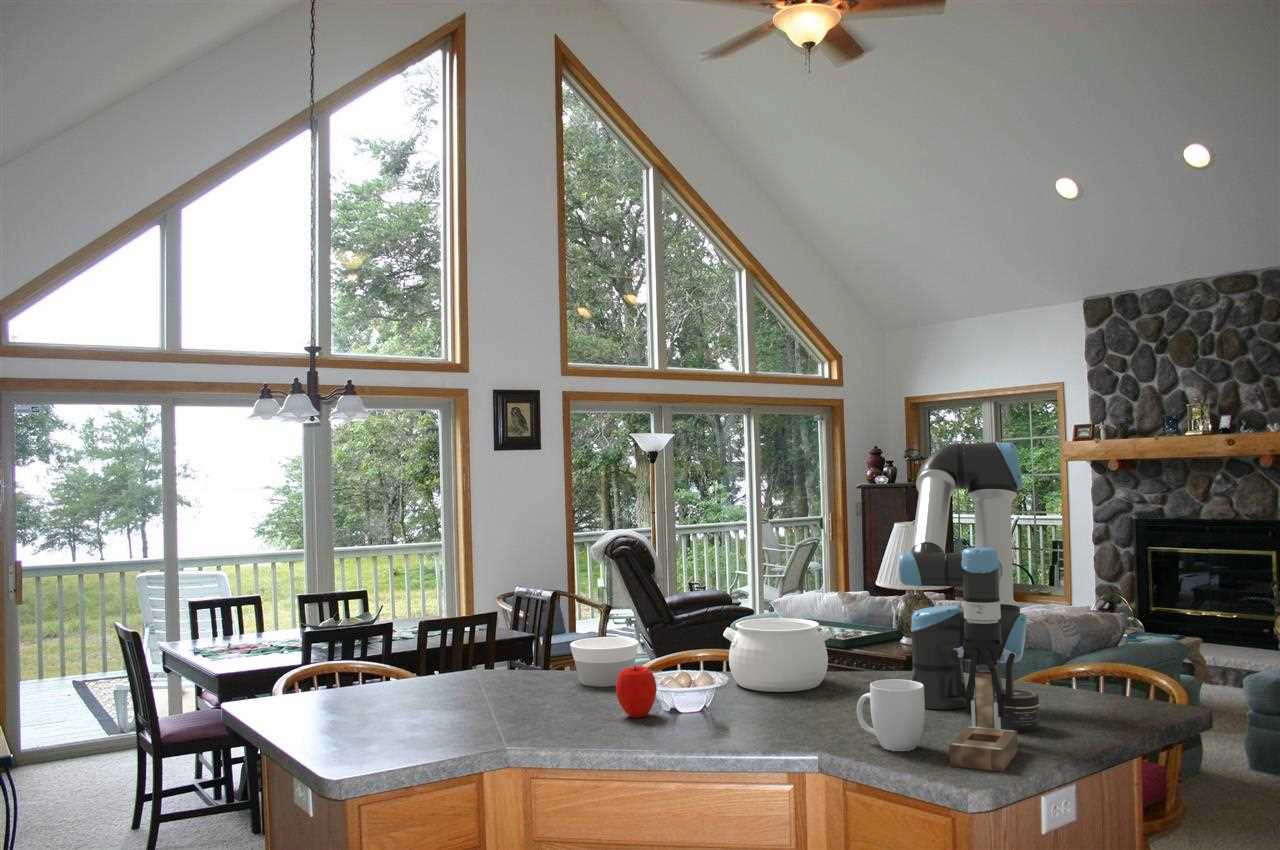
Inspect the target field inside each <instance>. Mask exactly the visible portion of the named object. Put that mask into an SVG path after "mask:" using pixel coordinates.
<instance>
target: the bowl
mask: <svg viewBox="0 0 1280 850" xmlns="http://www.w3.org/2000/svg"><path fill="white" fill-rule="evenodd" d="M639 644H640V642H639V640H637V639H634V638H630V637H619V636H599V637H597V636H596V637H588V638H581V639H578V640H574V641H572V642H571V643H570V644H569V646H570V650H571V654H572V657H573V661H574V664H575V668H576V669H575V670H576V673H577V675H578V679H579V682H580V684H582V685H583V686H587V687H588V686H589V687H599V688H600V687H616V682H617V678H618V676H619V673H620V672H621V671H622V670H623V669H626V668H631V667H634V666H635V661H636V657H637V654H638V648H639Z"/></svg>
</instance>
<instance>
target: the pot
mask: <svg viewBox="0 0 1280 850" xmlns="http://www.w3.org/2000/svg"><path fill="white" fill-rule="evenodd" d="M819 626H820V624H819V622H817V621H815V620H811V619H804V618H794V617H793V618H792V617H791V618H790V617H769V618H767V617H765V618H764V617H763V618H753V619H747V620H741V621H739V622H736V623H735V628H737V630H735V629H733V628H731V627H726V628H725V630H724V632H723V634H722V635H723V637H724V638H725V639H727V640H729V641H730V646H729V650H728V651H729V652H728V665H729V669H730V672H731V675H732V678H733V679H734V681H735V682H736V683H737V684H738V686H740V687H742V688H745V689H747V690H751V691H757V692H764V693H765V692H766V693H792V692H803V691H807V690H811V689H814V688H816V687H818V686H820V684H821V683H822V681H823V680H824V679H825V677H826V674H827V671H828V666H829V663H828V661H829V656H828V651H827V645H826V642H825V641H827V640H829V639H830V638H832V637H833V633H832V631H831V629H830V628H829V627H828V628H826V629H824V630H823V631H821V632H819V630H818V628H819Z"/></svg>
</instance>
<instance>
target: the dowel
mask: <svg viewBox="0 0 1280 850" xmlns="http://www.w3.org/2000/svg"><path fill="white" fill-rule="evenodd" d="M974 698H975V700H976V727H981V728H992V729H995V728H994V702H995V689H994V685H993V681H992V677H991V673H990V670H978V671H977V672H976V673H975V690H974Z"/></svg>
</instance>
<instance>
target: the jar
mask: <svg viewBox="0 0 1280 850" xmlns="http://www.w3.org/2000/svg"><path fill="white" fill-rule="evenodd" d="M1003 691H1004V694H1006V688H1003ZM995 700H997V698H996V693H995ZM1000 723H1001V729H1003V730H1013V731H1017V733H1031V732H1036V730H1037V729H1038V728H1039V725H1040V698H1039V694H1038V693H1037V692H1035V691H1032V690H1029V689H1024V688H1023V689H1022V688H1014V696H1013V698H1012V699H1011V700H1007V701H1005V716H1004V717H1000Z"/></svg>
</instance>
